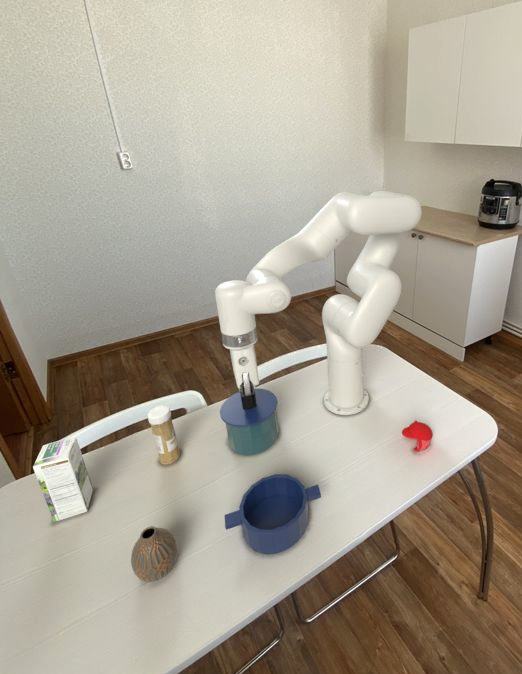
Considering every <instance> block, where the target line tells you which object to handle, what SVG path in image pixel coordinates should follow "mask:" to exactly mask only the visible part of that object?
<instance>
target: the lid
mask: <svg viewBox="0 0 522 674" xmlns="http://www.w3.org/2000/svg"><path fill="white" fill-rule="evenodd" d="M250 388H251V386H250ZM240 389H241V388H240ZM240 389H239V390H240ZM244 389H245V388H244V387H243V390H244ZM254 391H255V396H256V404H257V406H256V407H254V408H250V409H245V410H243V407H242V401H241V394H242V393H240V391H238V392H235V393H234V394H231V396H229V397H227V398H226V399H225V401H223V403H222V404H221V406H220V409H219V415H220V419H221V420H222V421H223V422H224V423H225V425H226V424H228V425H231V426H235V427H247V426H252V425H256V424H258V423H261V422H263V421H265V420H266V419H268V418H269V417H270V416H271V415H272V414H273V413H274V412H275V410H276V409H277V408H278V405H279V402H278V397H277V396H276V394H275V393H274V392H272V391H270V390H269V389H267V388H266V389H265V388H260V387H259V388H255V387H254Z"/></svg>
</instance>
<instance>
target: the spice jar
mask: <svg viewBox="0 0 522 674" xmlns="http://www.w3.org/2000/svg"><path fill="white" fill-rule="evenodd" d="M147 420H148V423H149V424H150V428H151V432H152V437H153V441H154V445H155V448H156V452H157V454H158V457H159V458H158V460H159V463H160V464H161V465H164V466H165V465H171V464H173V463H176V461H177V460H178V459H179V458H180V456H181V450H180V448H179V445H178V439H177V435H176V431H175V427H174V424H173V419H172V411H171V408H170V406H169V405H165V404H161V405H160V404H159V405H157V406H154V407H153V408H151V409H150V410H149V411H148V412H147Z"/></svg>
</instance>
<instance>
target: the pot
mask: <svg viewBox="0 0 522 674" xmlns="http://www.w3.org/2000/svg"><path fill="white" fill-rule="evenodd" d="M277 410H278V409H277V408H276V410H275V412H274V413H273V414H272V415H271V416H270V417H269V418H268V419H266V420H265V421H263V422H261V423H258V424H256V425H252V426H247V427H235V426H231V425H228V424H226V423H225V428H226V429H225V430H226V434H227V440H228V446H229V447H230V449H231V450H232V451H233V452H234V453H235V454H238V455H241V456H252V455H253V456H254V455H258V454H261V453H263V452H265V451H267V450H268V449H270V448H271V447H272V446H273V445H274V444H275V443H276V442H277V440H278V438H279V435H280V434H279V433H280V432H279V431H280V427H279V426H280V425H279V418H278V411H277Z"/></svg>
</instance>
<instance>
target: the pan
mask: <svg viewBox="0 0 522 674" xmlns="http://www.w3.org/2000/svg"><path fill="white" fill-rule="evenodd" d="M321 498H322V493H321V489H320V486H319V484H315V485H311V486H308V487H306V486H305V484H303V483H302V482H301V481H300V479H298V477H294V476H292V475H290V474H286V473H285V474H283V473H282V474H281V473H280V474H279V473H277V474H275V473H274V474H271V475H268V476H265V477H262V478H260V479H259V480H257V481H256V482H255V483H253V484H251V485H250V487H249V488H248V489H247V490H246V492H245V493H244V494H243V495H242V498H241V501H240V502H239V506H238V508H239V510H238V509H237V510H235V511H231V512H228V513H226V514H224V528H225V530H226V531H228V530H231V529H233V528H236V527H239V526H241V531H242V536H243V539H244V541H245V543H246V545H247V546H248V547H249V548H250V549H252V550H253V551H254V552H256V553H259V554H263V555H276V554H279V553H283V552H285V551H288V550H289V549H291V548H292V547H293V546H294V545H296V544H297V543H298V542H299V541H300V540H301V539H302V537H303V536H304V534H305V532H306V530H307V528H308V524H309V518H310V517H309V516H310V511H309V502H312V501H315V500H318V499H321Z"/></svg>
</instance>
